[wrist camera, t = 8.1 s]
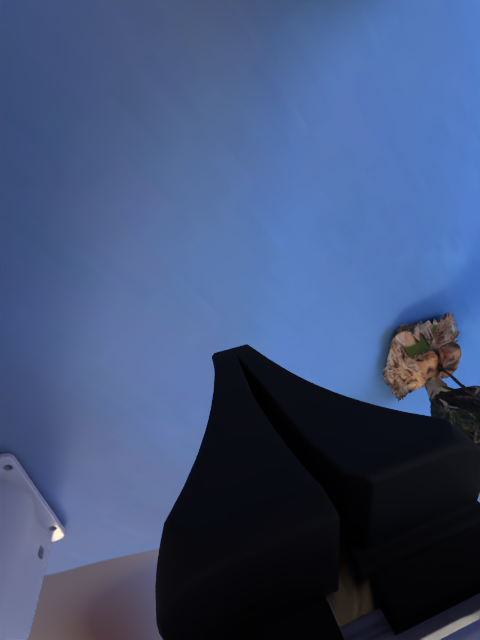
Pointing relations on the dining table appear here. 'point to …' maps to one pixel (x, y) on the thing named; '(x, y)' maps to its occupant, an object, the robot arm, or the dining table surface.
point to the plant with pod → (433, 372)
